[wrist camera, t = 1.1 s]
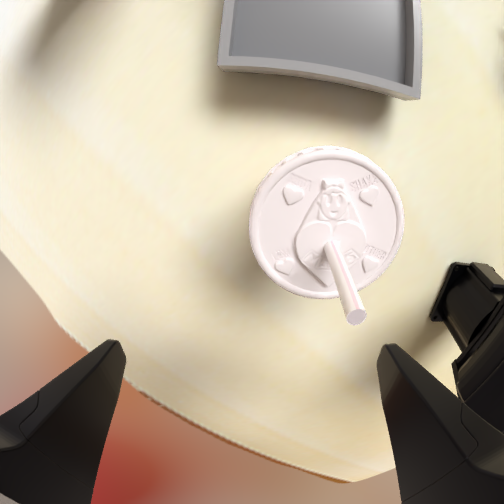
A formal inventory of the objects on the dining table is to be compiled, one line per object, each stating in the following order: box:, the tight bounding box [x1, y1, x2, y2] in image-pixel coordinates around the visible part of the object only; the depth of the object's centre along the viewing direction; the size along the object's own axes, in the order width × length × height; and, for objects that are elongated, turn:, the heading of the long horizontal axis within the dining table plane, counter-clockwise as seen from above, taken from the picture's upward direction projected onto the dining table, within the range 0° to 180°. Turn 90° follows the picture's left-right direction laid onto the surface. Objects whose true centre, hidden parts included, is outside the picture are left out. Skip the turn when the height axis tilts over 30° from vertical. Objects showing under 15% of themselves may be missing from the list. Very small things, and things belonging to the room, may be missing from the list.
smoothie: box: [249, 145, 404, 325], centre depth 13 cm, size 6×6×14 cm
